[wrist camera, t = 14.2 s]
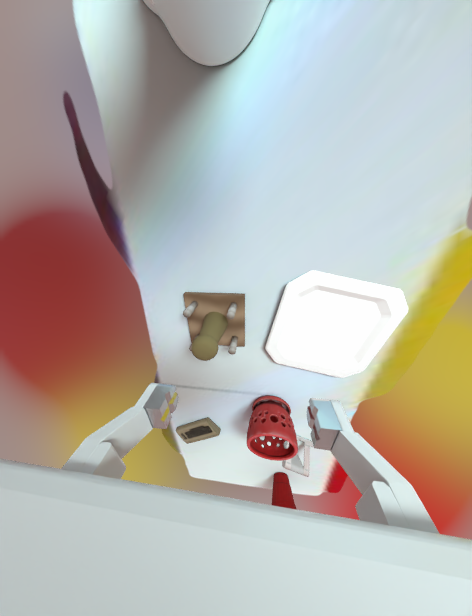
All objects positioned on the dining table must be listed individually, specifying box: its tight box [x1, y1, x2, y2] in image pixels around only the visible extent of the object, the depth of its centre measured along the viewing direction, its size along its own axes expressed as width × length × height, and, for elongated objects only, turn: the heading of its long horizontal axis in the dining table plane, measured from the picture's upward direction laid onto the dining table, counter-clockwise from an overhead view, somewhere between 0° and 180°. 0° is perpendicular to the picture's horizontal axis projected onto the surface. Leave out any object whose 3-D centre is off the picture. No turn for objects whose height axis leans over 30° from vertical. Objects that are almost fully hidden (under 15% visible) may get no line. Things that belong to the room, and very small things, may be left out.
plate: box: [265, 270, 408, 378], centre depth 39 cm, size 25×25×2 cm
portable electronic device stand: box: [282, 435, 313, 477], centre depth 58 cm, size 9×8×8 cm
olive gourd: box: [191, 312, 228, 361], centre depth 37 cm, size 6×6×11 cm
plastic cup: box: [272, 472, 296, 509], centre depth 69 cm, size 11×11×12 cm
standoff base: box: [183, 292, 245, 354], centre depth 40 cm, size 14×14×6 cm
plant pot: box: [247, 396, 298, 460], centre depth 49 cm, size 13×13×12 cm
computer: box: [176, 417, 221, 444], centre depth 65 cm, size 16×8×3 cm, turn 124°
